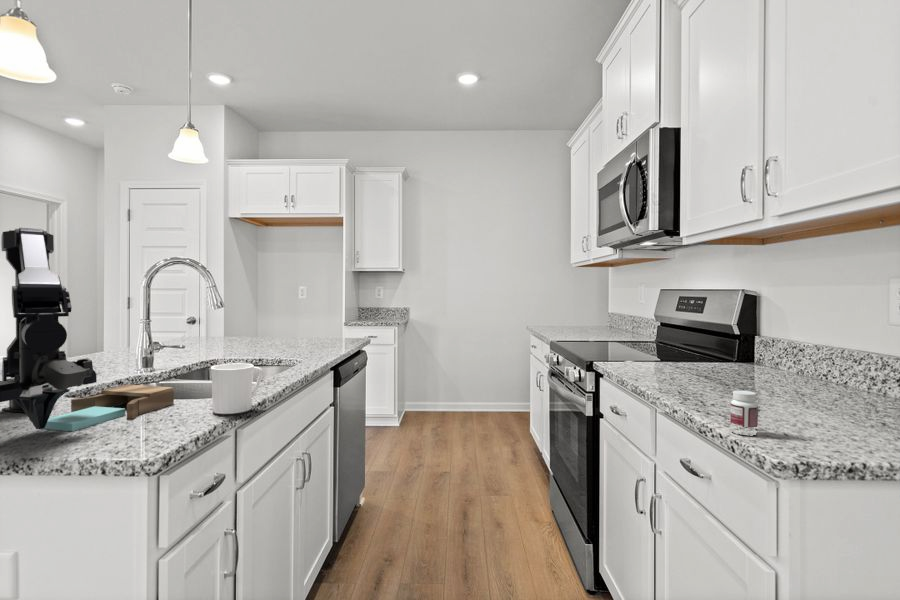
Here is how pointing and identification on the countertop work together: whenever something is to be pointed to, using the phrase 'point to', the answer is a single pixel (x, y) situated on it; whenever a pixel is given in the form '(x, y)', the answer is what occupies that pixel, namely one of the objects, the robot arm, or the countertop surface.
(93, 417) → the panel
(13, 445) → the countertop surface
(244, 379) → the mug
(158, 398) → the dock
